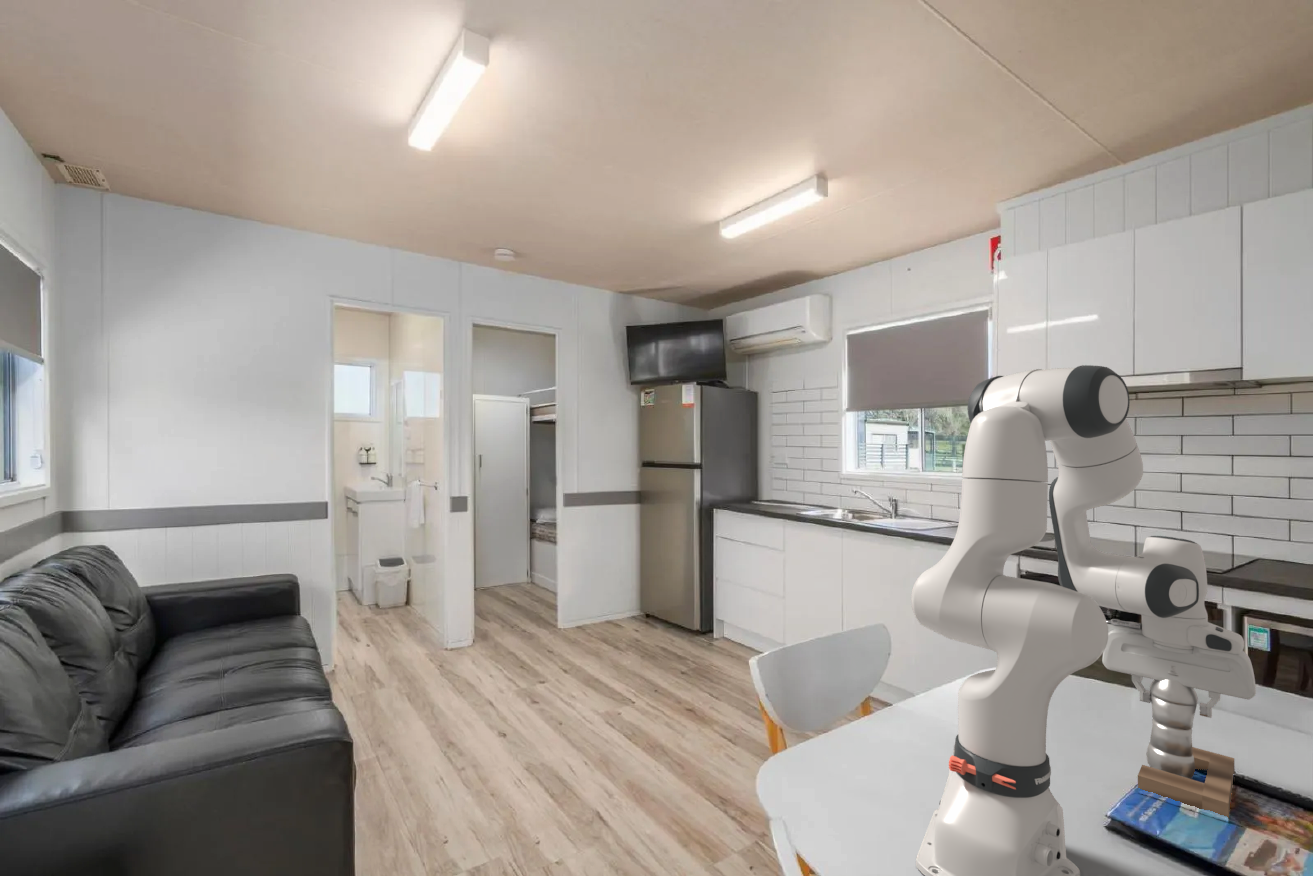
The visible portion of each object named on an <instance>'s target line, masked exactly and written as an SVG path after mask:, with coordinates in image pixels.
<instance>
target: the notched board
mask: <svg viewBox="0 0 1313 876" xmlns="http://www.w3.org/2000/svg"><path fill="white" fill-rule="evenodd" d="M1192 749H1193V756H1194V761H1195V769H1198V770H1199V769H1200V770H1201V769H1202V770H1203V769H1204V770H1205V769H1206V770H1207V769H1208V770H1207V775H1206V778H1205V779H1204V780H1205V781H1204V782H1203V781H1199V780H1195V779H1193V778H1191V779H1189V778H1185V777H1182V776H1179V775H1175V774H1172V773H1169V772H1165V771H1162V770H1159V769H1155V768H1152V767H1150V766H1147V765H1145V764H1141V767H1140V769H1139V770H1138V773H1137V789H1138V788H1140V789H1142V790H1145V791H1148V792H1153V793H1156V794H1158V795H1161V796H1163V797H1168V798H1171V799H1173V800H1175V801H1180V802H1182V803H1184V804H1187V805H1190V806H1195V807H1197V808H1199V809H1204V810H1210V811H1213V812H1215V813H1218V814H1220V815H1224V816H1227V817H1228V818H1229V819H1230V817H1229V810H1230V811H1231V809H1230V802H1231V803H1232V801H1231V793H1232V784H1233V774H1235V775H1236V772H1235V768H1236V767H1235V758H1234V757H1230V756H1227V755H1224V754H1220V753H1217V752H1213V751H1209V750H1206V749H1202V748H1197V747H1194V746H1192ZM1232 794H1233V793H1232Z"/></svg>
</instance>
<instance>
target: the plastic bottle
mask: <svg viewBox="0 0 1313 876" xmlns="http://www.w3.org/2000/svg"><path fill="white" fill-rule="evenodd" d="M1175 672H1176V667H1175V666H1171V672H1168V674H1170V675H1174V676H1178V674H1176V673H1175ZM1149 691H1150V696H1151V703H1150V704H1151V713H1152V714H1151V716H1152V719H1151V721H1152V725H1151V732H1150V739H1149V742H1148V746H1147V749H1146V760H1147V764H1148V765H1149V767H1152V768H1155V769H1159V770H1162V771H1165V772H1169V773H1172V774H1175V775H1179V776H1182V777H1185V778H1189V779H1193V777H1194V776H1195V775H1194V772H1195V761H1194V756H1193V749H1192V747H1193V727H1194V719H1195V714H1196V711H1197V710H1196V709H1197V707H1198V706H1197V705H1198V702H1199V701H1198V700H1199V696H1198V695H1197V692H1196V690H1195V688H1191V687H1187V686H1184V685H1182V684H1181V683H1179V682H1177V681H1175V680H1162V681H1159V680H1154V679H1152V681H1151V683H1150V686H1149Z"/></svg>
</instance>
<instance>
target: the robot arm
mask: <svg viewBox="0 0 1313 876" xmlns="http://www.w3.org/2000/svg"><path fill="white" fill-rule="evenodd" d="M967 401H968V402H967V416H968V419H969V423H970V424H969V425H970V426H969V428H968V434H967V437H966V442H965V447H964V451H963V452H964V453H963V459H962V461H963V462H962V468H961V469H962V472H961V473H962V475H961V478H962V479H961V492H960V493H961V495H960V507H959V516H958V525H957V529H956V532H955V536H954V539H953V541H952V543H951V545H950V547H949V548H948V549H947V550H946V552H945V554H944V555H943V556H942V558H941V559H940V560H938V562H937V563H935V564H934V565H932V566H931V567H929V568H927V569H926V570H924V571H923V572H922V573H921V574H920V575H919V576H918V577H917V579H916V580H915V582H914V583H913V586H912V589H911V594H910V600H911V601H910V603H911V604H910V605H911V608H912V611H913V614H914V616H915V618H916V620H917V621H918V623H919V625H921V626H923V628H926V629H928V630H930V631H932V632H933V633H936V634H938V635H940V636H942V637H944V638H946V639H949V640H952V641H956V642H959V643H964V644H966V645H971V646H975V647H979V648H982V649H987V650H989V651H993V652H994V653H996V655H997V661H996V662H997V663H996V667H995V669H992V670H985V671H982V672H978V673H975V674H972V675H970V676H969V677H967V678H966V679H965V680H964V681H963V682H962V684H961V685H960V687H959V688H958V692H957V705H958V706H957V708H958V709H957V710H958V711H957V713H958V714H957V719H958V720H957V723H958V724H957V726H958V728H957V730H958V731H957V733H958V734H957V735H956V736H955V738H954V739H955V742H954V745H953V751H952V754H951V756H950V757H949V760H948V769H949V773H948V776H947V779H946V783H945V785H944V786H945V787H944V789H943V792H942V793H943V794H942V796H941V799H940V800H939V806H938V808H937V809H934V811H933V813H932V816H931V819H930V821H929V823H928V826H927V828H926V831H925V834H924V837H923V839H922V842H921V844H920V847H919V850H918V852H917V856H916V858H915V867H916V869H917V870H918V871H919V872H921V874H923V875H924V876H1081V871H1080V869H1079V867H1078V866H1077V865H1076V864H1075V863H1074V862H1072V860H1070V859H1069V858H1068V857H1067V850H1066V835H1065V833H1066V832H1065V819H1064V809H1063V807H1062V806H1061V804H1060V803H1059V801H1058V800H1057V799H1056V798H1055V797H1054V795H1053V793H1052V791H1051V789H1050V786H1051V774H1052V766H1051V764H1050V757H1049V754H1048V753H1047V727H1048V712H1049V706H1050V702H1051V698H1052V697H1053V694H1054V692H1055V690H1056V689H1057V688H1058V687H1059V685H1060V684H1061V683H1062V682H1063V681H1064V680H1065V679H1066V678H1067V677H1069V676H1070V675H1072V674H1074V673H1076V672H1078V671H1080V670H1083V669H1085V668H1087V667H1089V666H1091V665H1092V664H1094V663H1095V662H1097V660H1098V659H1099V658H1100V657H1101V656H1102V658H1101V659H1102V662H1101V663H1102V664H1103V665H1104V667H1105V668H1106V669H1107V670H1109V671H1112V672H1113V671H1114V672H1118V673H1123V674H1128V675H1131V682H1132V683H1133V684H1134V686H1135V688H1136V690H1137V691H1138V692H1139V702H1143V703H1148V704H1152V703H1151V696H1150V690H1147V689H1146V688H1145V686H1144V685H1143V683H1142V681H1143V680H1144V679H1145V678H1147V679H1151V680H1159V681H1162V680H1175V681H1177V682H1179V683H1181V684H1182V685H1184V686H1187V687H1191V688H1194V689H1198V690H1200V691H1201V690H1202V691H1205V692H1208V698H1210V699H1209V701H1207V702H1206V703H1204V702H1199V703H1200V704H1199V716H1202V717H1206V718H1210V719H1212V716H1213V708H1214V707H1215V706H1216V705H1217V703H1219V701H1220V700H1221V698H1222V697H1221V695H1225V696H1228V697H1229V696H1230V697H1233V698H1238V699H1243V700H1246V701H1247V700H1251V699H1253V698H1254V697H1255V696H1256V694H1257V692H1256V691H1257V689H1256V679H1255V677H1256V676H1255V674H1254V668H1253V665H1252V661H1251V659H1250V657H1249V655H1248V654H1247V653H1246V652H1245V651H1244V648H1245V640H1244V638H1243V635H1240V634H1239V633H1237V632H1235V631H1232V630H1230V629H1227V628H1225V627H1221V626H1219V625H1216V624H1214V623H1211V622H1209V618H1208V617H1209V616H1208V615H1209V614H1208V611H1207V609H1206V605H1205V600H1206V596H1207V594H1208V576H1207V566H1206V560H1205V556H1204V551H1203V549H1202V547H1201V545H1200V544H1199V543H1197V542H1195V541H1193V540H1191V539H1185V538H1178V537H1173V536H1166V535H1165V536H1164V535H1151V536H1147V537H1146V538H1145V540H1144V542H1143V549H1142V553H1140V554H1138V555H1136V556H1129V555H1124V554H1123V555H1122V554H1114V553H1109V552H1105V551H1102V550H1100V549H1097V548H1096V547H1095V546H1093V544H1092V542H1091V535H1090V528H1089V522H1088V515H1087V511H1089V510H1092V509H1095V508H1099V507H1103V506H1108V505H1111V504H1114V503H1115V502H1118V501H1120V500H1121V499H1123V498H1126V496H1128V495H1129V494H1130V493H1132V492H1133V491H1134V490H1135V489H1136V488H1137V487H1138V485H1139V484H1140V482H1141V480H1142V477H1143V475H1144V463H1143V457H1142V455H1141V452H1140V449H1139V447H1138V444H1137V441H1136V438H1135V436H1134V433H1133V431H1132V429H1131V426H1130V424H1129V421H1128V420H1127V416H1128V414H1129V411H1130V410H1129V409H1130V401H1131V400H1130V394H1129V389H1128V387H1127V384H1126V382H1125V380H1124V379H1123V378H1122V377H1121V375H1119V374H1118V373H1117V372H1115V371H1114V370H1112V368H1110V367H1107V366H1102V365H1091V364H1090V365H1087V364H1085V365H1083V364H1082V365H1078V366H1076V367H1061V368H1060V367H1059V368H1058V367H1057V368H1056V367H1055V368H1047V369H1042V368H1038V369H1037V368H1036V369H1029V370H1025V371H1020V372H1016V373H1011V374H1008V375H996V376H994V377H990V378H988V379H986V380H983V381H981V382H979V383H978V384H977V385H975V386H974V388H973V390H972V392H971V394H970V396H969V398H968V400H967ZM1046 441H1047V442H1048V441H1049V442H1050V445H1051V447H1052V448H1051V450H1052V452H1053V456H1054V458H1055V461H1056V464H1057V467H1058V476H1057V477H1055V478H1054V479H1053V480H1052V482H1051V484H1050V486H1049V483H1048V482H1049V469H1048V468H1049V467H1048V453H1047V446H1046ZM1048 488H1049V489H1048ZM1048 501H1049V502H1048ZM1048 503H1049V504H1048ZM1048 505H1049V509H1050V510H1049V512H1050V517H1051V525H1052V529H1053V530H1052V531H1053V535H1054V540H1055V546H1056V551H1057V560H1058V562H1057V578H1058V582H1059V584H1055V583H1051V582H1047V581H1039V580H1033V579H1028V578H1023V577H1022V578H1021V577H1015V576H1008V575H1005V574H1004V568H1005V565H1006V561H1007V560H1008V559H1009V557H1010V556H1011V555H1013V554H1016V553H1019V552H1021V551H1025V550H1027V549H1030V548H1032V547H1034V546H1037V544H1039V543H1040V542H1041V541H1042V539H1043V538H1044V537H1045V535H1046V533H1047V530H1048ZM1101 607H1104V608H1106V609H1112V610H1115V611H1116V610H1117V611H1121V612H1125V613H1130V614H1131V613H1132V614H1137V615H1141V622H1134V621H1125V620H1120V619H1118V618H1112V619H1110V620H1107V619H1106V616H1105V614H1104V612H1103V610H1102V609H1101ZM1171 666H1175V667H1176V672H1175V673H1176V674H1178V676H1174V675H1170V674H1168V672H1171Z"/></svg>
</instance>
